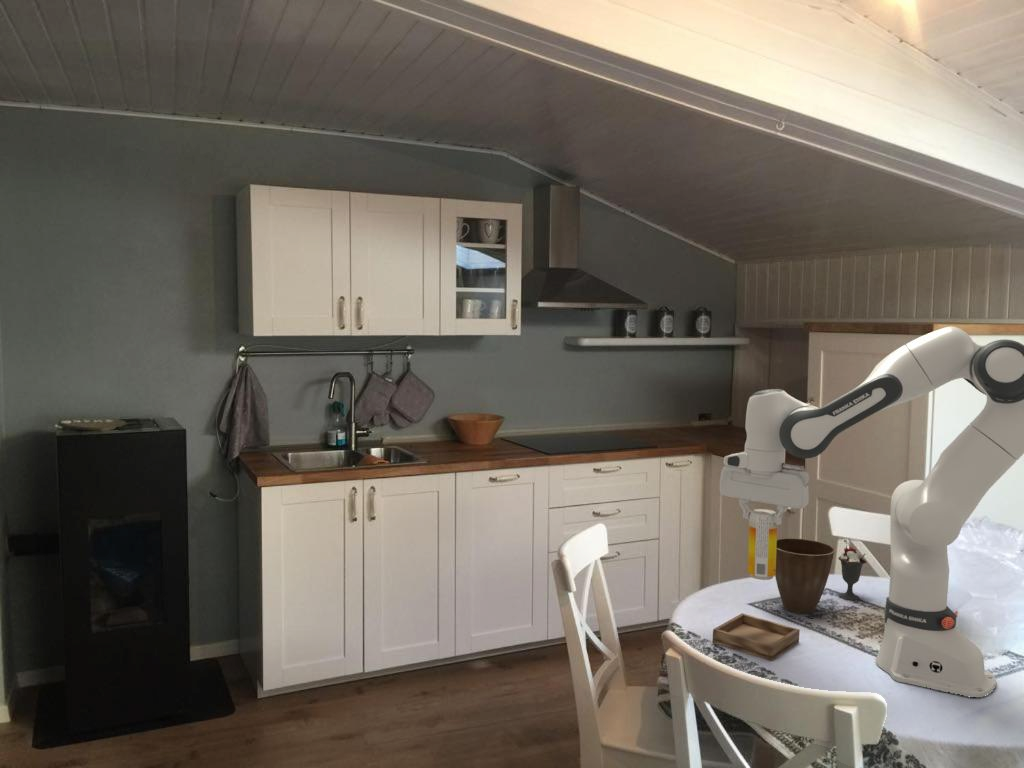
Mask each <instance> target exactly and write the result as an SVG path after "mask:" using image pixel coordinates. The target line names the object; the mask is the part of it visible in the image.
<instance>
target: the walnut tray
mask: <svg viewBox="0 0 1024 768" xmlns="http://www.w3.org/2000/svg"><path fill="white" fill-rule="evenodd" d="M800 633H801V631H800V629H799V628H796V627H793V626H789V625H786V624H785V625H784V624H781V623H778V622H774V621H771V620H768V619H764V618H760V617H756V616H753V615H750V614H747V613H740V614H738V615H736V616H734V617H733V618H731V619H729V620H727V621H726V622H724V623H722V624H720V625H719V626H716V627H715V628H713V629H712V643H713V642H714V643H713V644H716V643H717V645H720V646H723V647H727V648H728V649H729V648H730V649H733V650H736V651H739V652H743V653H745V654H749V655H752V656H755V657H758V658H762V659H765V660H768V661H771V662H772V661H774V660H776V659H777V658H778V657H780V656H781V655H783V654H785V652H787V651H788V650H790V649H791V648H793V647H794V646H796V645H797V644H799V643H800ZM798 642H799V643H798ZM795 644H796V645H795Z"/></svg>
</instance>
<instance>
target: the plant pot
mask: <svg viewBox="0 0 1024 768" xmlns="http://www.w3.org/2000/svg"><path fill="white" fill-rule="evenodd" d="M834 554H835V549H834V547H833V546H831V545H829V544H827V543H825V542H824V543H823V542H821V541H816V540H812V539H805V538H792V537H791V538H787V537H786V538H779V539H778V538H777V546H776V575H775V576H774V577H775V581H776V585H777V590H778V592H779V596H780V599H781V602H782V606H783V609H785V610H786V611H788V610H789V611H788V612H792V613H795V614H805V615H806V614H812V613H814V612H815V611H816V609H817V607H818V606H819V603H820V600H821V598H822V597H823V594H824V591H825V588H826V586H827V583H828V578H829V576H830V573H831V568H832V565H833V560H834Z"/></svg>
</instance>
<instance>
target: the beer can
mask: <svg viewBox="0 0 1024 768" xmlns="http://www.w3.org/2000/svg"><path fill="white" fill-rule="evenodd" d="M776 515H777V513H776V511H774V510H772V509H768V508H764V509H763V508H754V509H752V510H751V513H750V515H749V519H748V522H749V523H748V548H747V549H748V551H747V556H748V557H747V573H748V575H749V577H750V578H752V579H755V580H761V581H762V580H763V581H764V580H765V581H768V580H772V579H773V578H774V577H775V575H776V546H777V539H778V525H776V524H773V518H772V516H776Z"/></svg>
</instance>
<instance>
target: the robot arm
mask: <svg viewBox="0 0 1024 768" xmlns="http://www.w3.org/2000/svg"><path fill="white" fill-rule="evenodd" d="M958 379H964V380H965V381H966V382H967V383H969V384H970V385H971V386H972V387H974V388H975V389H976V390H977V391H979V392H980V393H981V394H983V395H985V396H986V403H985V405H984V407H983V409H981V411H980V413H978V414H977V416H976V417H975V418H974V419H973V420H972V421H971V422H970V423H969V424H968V425H967V426H966V427H965V428H964V429H963V430H962V431H961V432H960V434H958V435H957V436H956V438H954V439H953V441H952V442H950V444H949V445H948V446H946V447H945V449H944V450H943V451H941V452H940V453H941V454H940V456H939V457H938V459H937V461H936V463H935V464H934V466H933V467H932V469H931V470H930V472H929V473H928V474H927V476H926V477H925V479H924V480H922V479H910V480H907V481H904V482H902V483H900V484H898V486H896V488H895V489H894V491H893V492H892V495H891V498H890V519H889V521H890V523H889V524H890V526H889V527H890V570H889V571H890V573H889V574H890V576H889V586H888V587H889V589H888V596H887V597H886V598H885V599H886V600H885V605H884V625H885V626H884V631H883V635H882V639H881V640H882V641H881V644H880V646H879V649H878V653H877V655H876V657H875V663H876V665H877V666H878V667H879V668H881V669H882V670H884V671H885V672H886V673H888V674H889V676H890V677H891V678H892V679H893V680H894V681H896V682H900V683H904V684H909V685H912V686H914V685H915V686H919V687H923V688H926V687H927V688H926V689H930V688H931V689H930V690H934V691H939V690H940V691H941V692H946V693H948V692H950V693H949V694H953V693H956V694H955V695H957V694H960V695H959V696H961V695H964V696H963V697H966V696H970V697H981V698H983V697H982V696H985V695H987V694H989V693H990V694H992V693H993V692H994V690H995V689H994V688H996V687H995V686H997V679H996V676H995V675H994V674H993V673H992V672H990V671H987V670H985V661H984V660H985V659H984V656H983V653H982V650H981V649H980V648H979V647H978V645H976V644H975V643H974V642H973V641H971V639H969V638H968V637H967V636H966V635H965V634H964V633H963V632H962V631H961V630H960V629H959V628H958V627H957V626H956V625H957V617H958V613H959V611H958V610H956V611H953V610H952V609H951V608H950V607H948V603H947V602H948V593H949V581H950V580H949V579H950V566H949V558H948V557H949V555H948V546H949V545H951V544H953V543H954V542H955V541H956V540H957V539H958V537H959V535H960V534H961V530H962V528H963V526H964V525H965V523H966V522H967V521H968V519H969V518H970V517H971V516H972V514H973V512H974V511H975V510H976V508H977V506H978V505H979V503H980V502H981V500H983V498H984V496H985V495H986V493H988V491H989V490H990V489H991V488H992V487H993V486H994V484H996V483H997V481H998V480H1000V479H1001V478H1002V477H1003V476H1004V474H1006V473H1007V471H1008V470H1009V469H1011V468H1012V466H1013V465H1015V463H1017V461H1018V460H1019V459H1020V458H1021V457H1022V456H1023V455H1024V344H1023V343H1021V342H1019V341H1016V340H1013V339H997V340H993V341H991V342H989V343H987V344H986V345H981V344H978V343H977V342H974V341H973V338H972V337H971V336H970V335H969V334H968V333H967V331H964V330H963V329H961V328H959V327H958V326H951V325H950V326H945V327H942V328H939V329H936V330H934V331H931V332H929V333H926V334H923V335H921V336H918V337H917V338H915V339H913V340H911V341H909V342H907V343H905V344H904V345H902V346H900V347H898V348H897V349H895V350H894V351H892V352H891V353H889V354H888V355H886V356H885V357H884V358H883V359H882V360H880V361H879V362H878V363H877V364H876V365H875V366H874V368H873V370H872V371H871V373H870V374H869V375H868V376H867V377H866V378H865V380H864V381H863V382H861V384H859V385H858V386H857V387H855V388H853V389H852V390H850V391H848V392H847V393H845V394H843V395H841V396H839V397H837V398H836V399H834V400H832V401H831V402H829V403H827V404H826V405H823V406H821V407H817V406H814V405H812V404H808V403H805V402H803V401H801V400H799V399H796V398H795V397H793V396H791V395H790V394H788V392H786V391H785V390H784V389H781V388H770V389H763V390H759V391H756V392H754V393H753V394H751V396H750V397H749V398H748V401H747V404H746V405H747V407H746V414H745V432H746V440H745V443H744V450H743V451H739V452H736V453H731V454H729V455H725V456H724V458H723V465H724V466H723V468H721V471H720V477H719V478H720V479H719V488H718V489H719V492H720V494H721V495H722V496H723V497H729V498H735V499H738V504H739V506H740V508H741V510H742V511H743V512H742V518H743V519H745V520H749V515H750V513H751V511H752V510H751V509H750V508H749V506H748V503H749V501H752V502H758V503H763V504H767V505H768V504H769V505H774V506H776V510H777V511H778V512H777V513H776V516H772V518H773V524H776V525H777V526H780V525H781V524H782V517H783V515H784V514H785V513H786V511H787V510H788V508H791V509H795V510H796V509H797V510H801V509H803V508H805V507H807V505H809V501H810V495H809V494H810V493H809V483H810V474H809V472H808V471H807V469H806V468H804V467H803V466H801V465H793V464H788V463H786V452H788V454H790V455H792V456H794V457H795V458H798V459H813V458H816V457H818V456H819V455H821V454H822V453H823V452H825V451H826V449H827V448H828V447H829V445H830V444H831V442H832V441H833V440H834V439H835V438H836V437H837V436H838V435H839V434H840V433H842V432H844V431H846V430H847V429H849V428H851V427H853V426H854V425H856V424H858V423H860V422H862V421H864V420H866V419H867V418H869V417H871V416H872V415H874V414H876V413H878V412H880V411H883V410H885V409H888V408H892V407H894V406H897V405H901V404H903V403H907V402H910V401H913V400H915V399H917V398H919V397H923V396H924V395H927V394H929V393H930V392H932V391H935V390H937V389H938V388H940V387H942V386H944V385H946V384H948V383H949V382H951V381H955V380H958ZM993 689H994V690H993ZM991 692H992V693H991ZM990 694H989V695H990ZM987 696H988V695H987ZM970 697H969V698H970ZM985 697H986V696H985Z"/></svg>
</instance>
